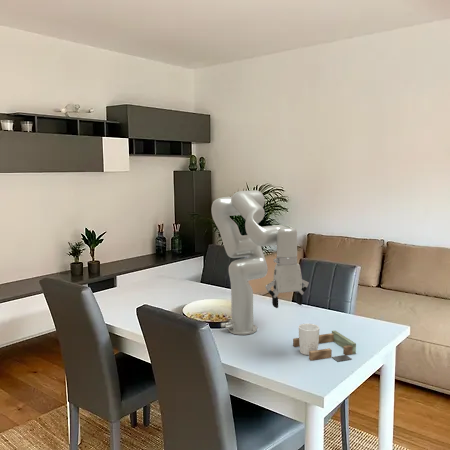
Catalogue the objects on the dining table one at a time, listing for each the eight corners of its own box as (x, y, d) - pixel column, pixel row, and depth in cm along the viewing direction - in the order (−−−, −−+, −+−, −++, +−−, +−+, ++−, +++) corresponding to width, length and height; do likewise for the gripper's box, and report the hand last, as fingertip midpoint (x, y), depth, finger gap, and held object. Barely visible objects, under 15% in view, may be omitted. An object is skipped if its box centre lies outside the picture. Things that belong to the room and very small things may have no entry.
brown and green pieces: (316, 365, 166) (316, 354, 165) (288, 342, 188) (288, 332, 188) (362, 358, 172) (362, 347, 171) (329, 336, 194) (329, 327, 193)
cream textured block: (296, 348, 182) (296, 323, 180) (315, 347, 182) (316, 323, 181) (301, 356, 174) (301, 331, 172) (321, 355, 174) (322, 330, 173)
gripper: (269, 264, 165) (270, 311, 167) (312, 260, 171) (312, 305, 172) (261, 261, 172) (262, 305, 174) (303, 257, 178) (303, 300, 179)
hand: (287, 305), depth 173 cm, fingers open, 9 cm apart
